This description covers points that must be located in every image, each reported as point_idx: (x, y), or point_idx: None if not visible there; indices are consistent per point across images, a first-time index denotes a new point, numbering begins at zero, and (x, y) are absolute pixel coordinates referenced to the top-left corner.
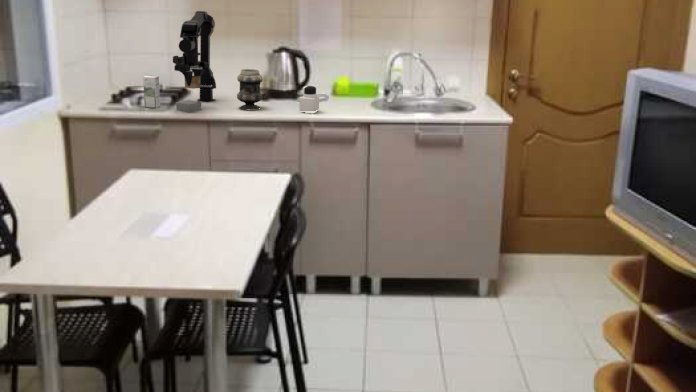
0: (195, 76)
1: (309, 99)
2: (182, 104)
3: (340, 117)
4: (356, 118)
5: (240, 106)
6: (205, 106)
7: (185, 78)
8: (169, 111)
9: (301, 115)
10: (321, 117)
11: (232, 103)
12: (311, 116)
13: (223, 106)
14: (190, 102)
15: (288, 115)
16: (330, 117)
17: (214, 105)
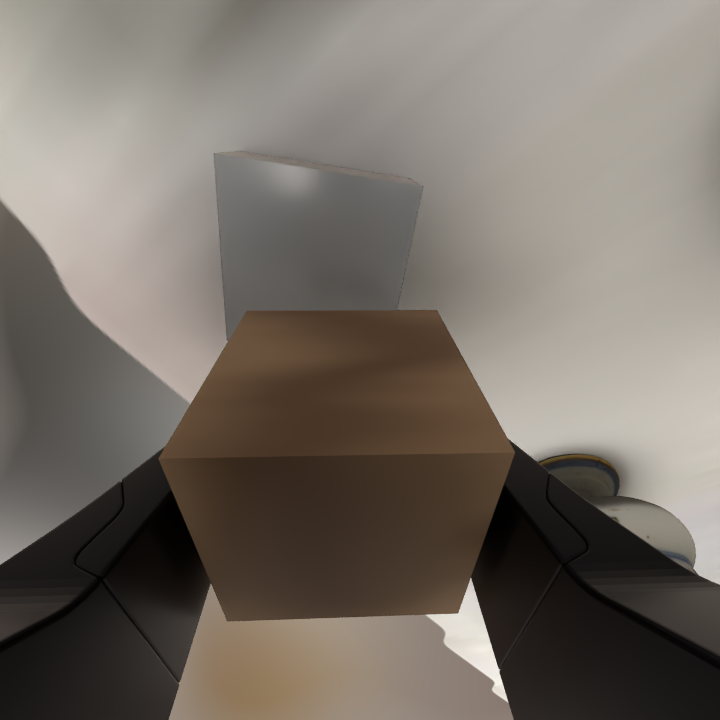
0: (389, 581)
1: None
2: (225, 254)
3: (499, 676)
4: (502, 690)
5: (559, 466)
6: (527, 270)
7: (115, 497)
8: (146, 129)
9: (482, 631)
10: (477, 659)
11: (705, 363)
12: (479, 645)
13: (570, 372)
14: (308, 297)
15: (463, 614)
16: (488, 667)
17: (592, 304)
